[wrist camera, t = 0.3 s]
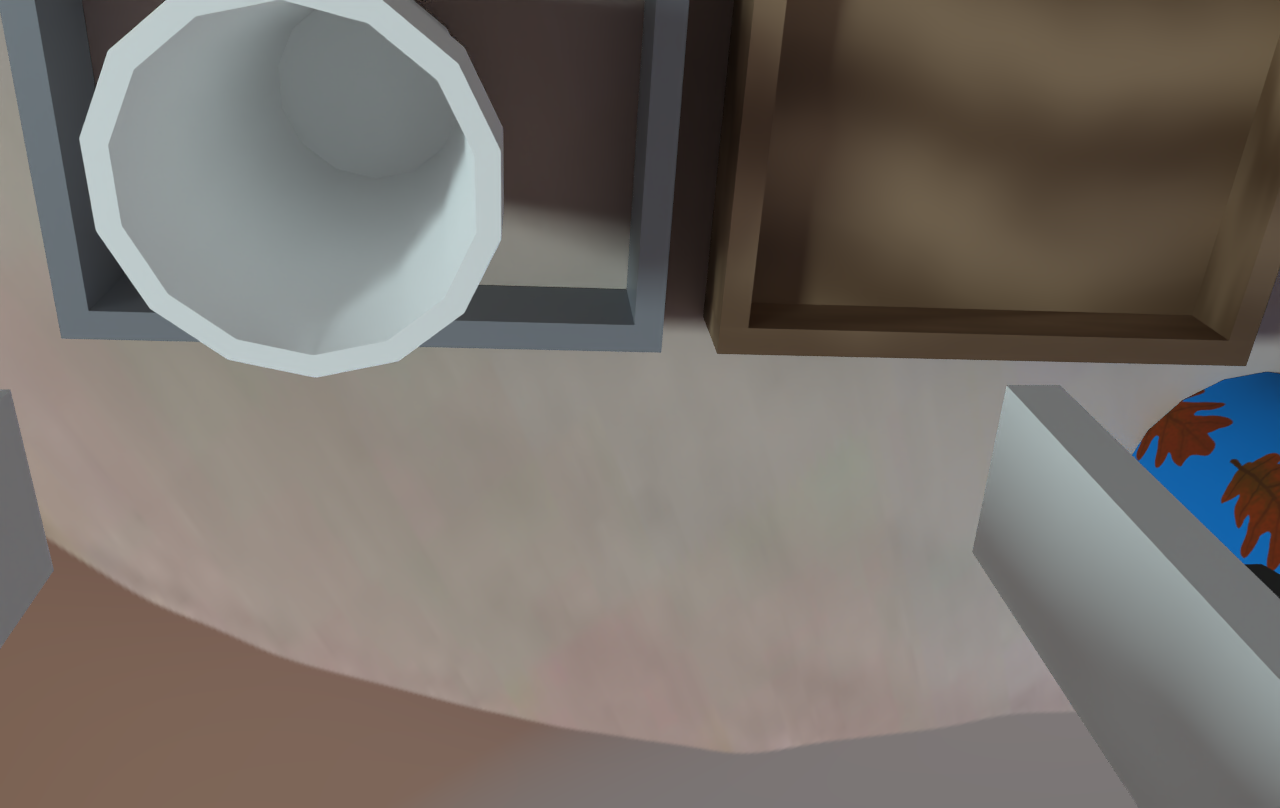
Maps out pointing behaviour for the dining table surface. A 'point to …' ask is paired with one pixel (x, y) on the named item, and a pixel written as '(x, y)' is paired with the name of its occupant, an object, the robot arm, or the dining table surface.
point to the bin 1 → (497, 315)
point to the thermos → (1225, 462)
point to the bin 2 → (998, 180)
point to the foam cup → (297, 176)
